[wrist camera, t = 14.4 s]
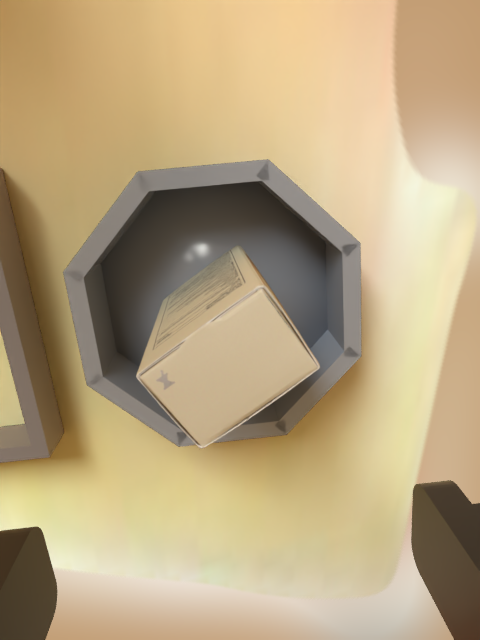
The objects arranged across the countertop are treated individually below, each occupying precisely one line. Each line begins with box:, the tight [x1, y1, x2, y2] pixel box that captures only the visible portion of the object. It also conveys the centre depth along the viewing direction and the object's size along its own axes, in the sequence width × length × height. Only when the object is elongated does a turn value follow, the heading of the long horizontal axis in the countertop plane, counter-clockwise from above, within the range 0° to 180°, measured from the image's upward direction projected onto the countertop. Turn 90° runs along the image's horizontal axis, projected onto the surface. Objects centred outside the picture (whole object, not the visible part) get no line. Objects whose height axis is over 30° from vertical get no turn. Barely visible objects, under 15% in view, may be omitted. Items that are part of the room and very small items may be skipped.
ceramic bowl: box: [63, 159, 361, 447], centre depth 28 cm, size 16×16×5 cm
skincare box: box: [136, 245, 320, 448], centre depth 23 cm, size 6×4×12 cm
